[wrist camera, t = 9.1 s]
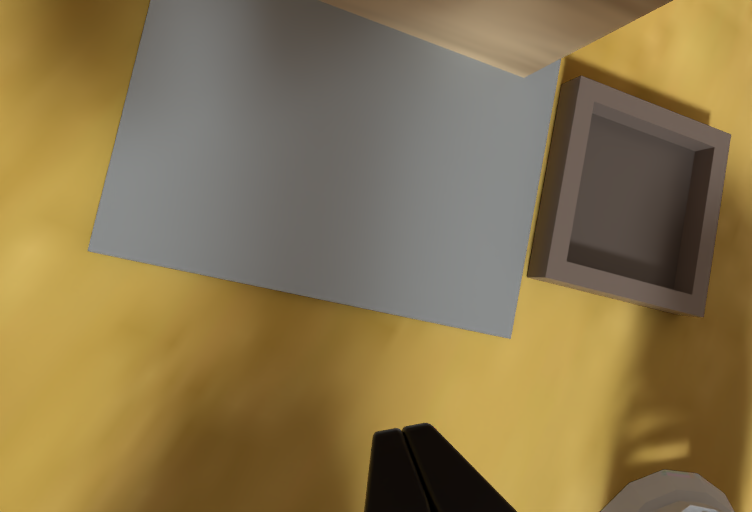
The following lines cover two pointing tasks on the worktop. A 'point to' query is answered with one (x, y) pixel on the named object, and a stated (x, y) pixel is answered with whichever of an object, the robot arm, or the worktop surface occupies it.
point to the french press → (670, 494)
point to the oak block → (504, 25)
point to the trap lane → (397, 170)
